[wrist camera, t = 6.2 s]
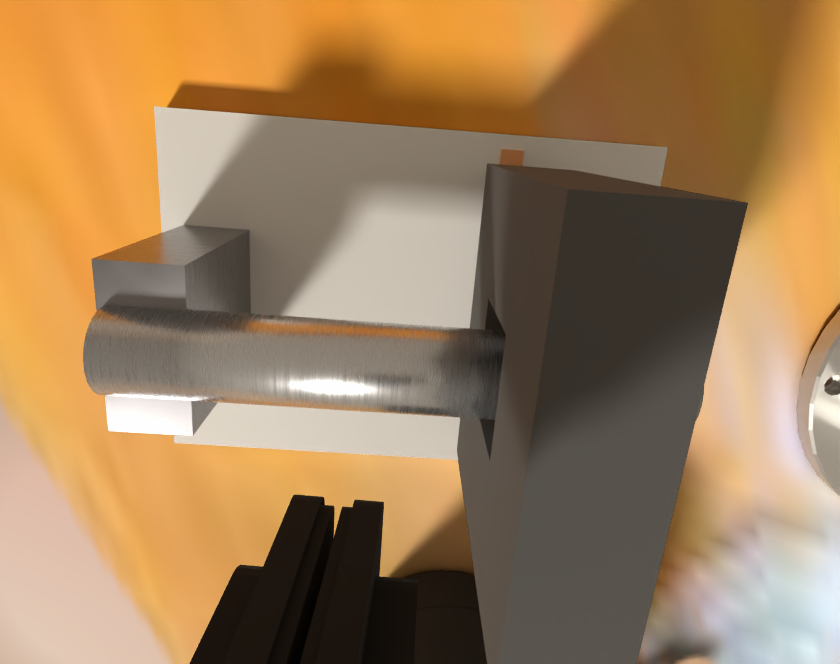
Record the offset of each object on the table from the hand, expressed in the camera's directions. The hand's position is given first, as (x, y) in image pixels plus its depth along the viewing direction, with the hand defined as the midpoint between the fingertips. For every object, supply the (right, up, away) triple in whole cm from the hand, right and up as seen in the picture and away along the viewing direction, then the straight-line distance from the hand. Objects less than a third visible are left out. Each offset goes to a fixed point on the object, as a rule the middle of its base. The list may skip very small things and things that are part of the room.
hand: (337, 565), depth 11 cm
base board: (+1, +6, +13) cm, 14 cm away
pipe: (+1, +5, +12) cm, 13 cm away
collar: (+5, +5, +11) cm, 13 cm away
